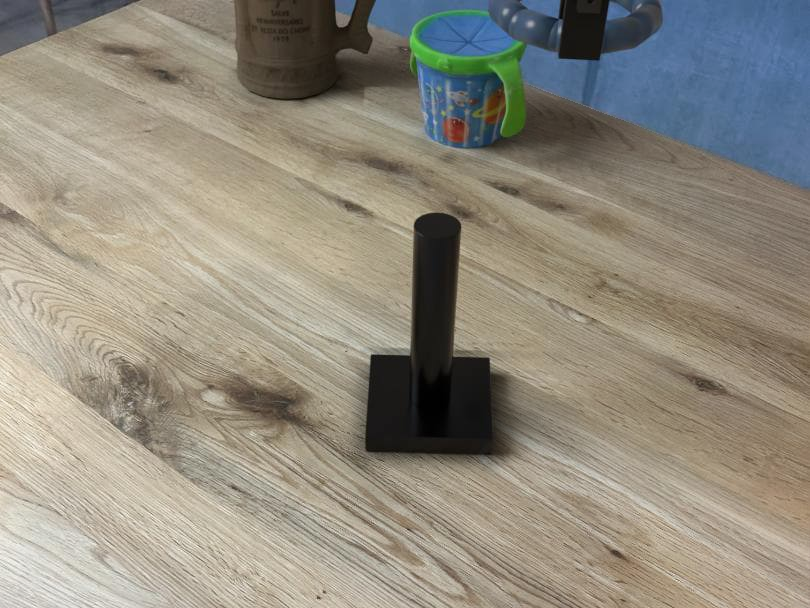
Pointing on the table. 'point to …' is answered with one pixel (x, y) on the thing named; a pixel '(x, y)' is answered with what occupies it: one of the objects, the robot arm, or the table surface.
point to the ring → (547, 29)
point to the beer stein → (295, 44)
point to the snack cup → (468, 78)
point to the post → (431, 363)
